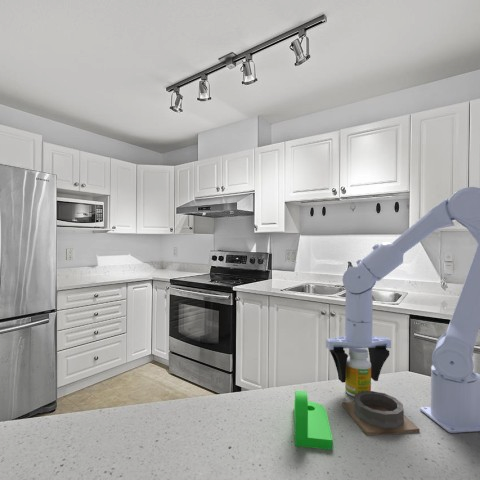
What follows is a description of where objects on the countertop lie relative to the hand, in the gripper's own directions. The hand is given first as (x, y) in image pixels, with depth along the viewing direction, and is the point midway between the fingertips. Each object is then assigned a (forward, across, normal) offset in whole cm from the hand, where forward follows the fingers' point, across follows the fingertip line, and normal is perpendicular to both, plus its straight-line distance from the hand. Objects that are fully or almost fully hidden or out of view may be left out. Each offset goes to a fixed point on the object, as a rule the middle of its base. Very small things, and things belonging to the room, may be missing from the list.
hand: (358, 379), depth 71 cm
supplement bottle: (+3, 0, 0) cm, 3 cm away
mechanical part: (+3, +15, +12) cm, 19 cm away
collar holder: (+3, +1, +10) cm, 10 cm away
